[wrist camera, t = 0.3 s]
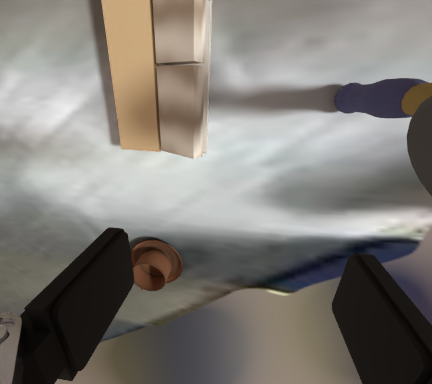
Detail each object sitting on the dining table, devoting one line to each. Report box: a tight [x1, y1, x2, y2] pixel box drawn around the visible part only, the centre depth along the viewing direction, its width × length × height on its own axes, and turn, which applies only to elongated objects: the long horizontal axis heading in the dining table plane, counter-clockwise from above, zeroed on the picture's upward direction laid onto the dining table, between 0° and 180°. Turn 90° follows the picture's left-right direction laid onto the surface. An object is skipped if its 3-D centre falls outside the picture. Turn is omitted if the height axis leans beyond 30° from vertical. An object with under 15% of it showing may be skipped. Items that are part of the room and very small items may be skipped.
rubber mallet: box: [335, 78, 432, 196], centre depth 18 cm, size 12×8×30 cm, turn 116°
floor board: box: [101, 0, 212, 153], centre depth 32 cm, size 25×14×4 cm, turn 177°
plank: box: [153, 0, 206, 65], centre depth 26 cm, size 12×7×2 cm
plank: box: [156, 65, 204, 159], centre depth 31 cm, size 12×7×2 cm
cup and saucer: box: [131, 240, 183, 291], centre depth 46 cm, size 12×12×6 cm
